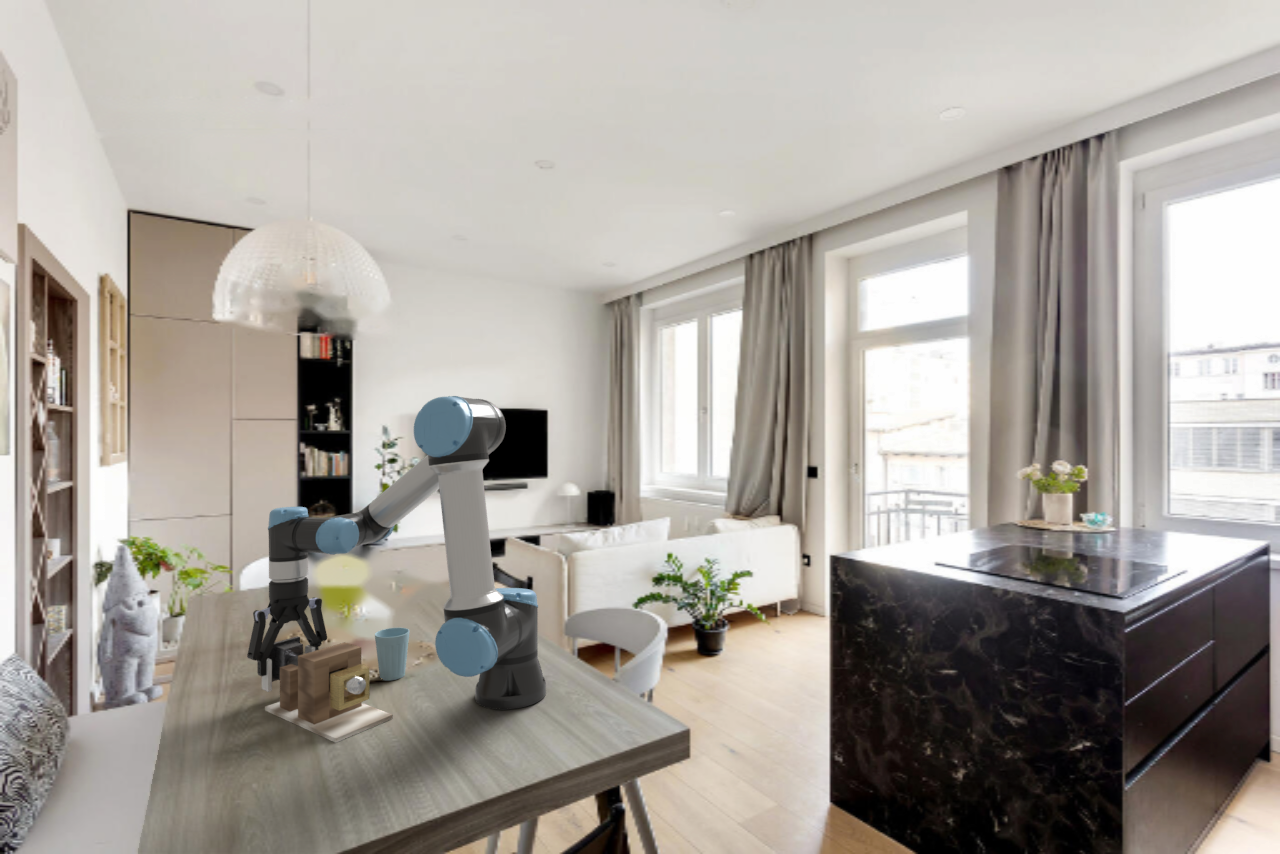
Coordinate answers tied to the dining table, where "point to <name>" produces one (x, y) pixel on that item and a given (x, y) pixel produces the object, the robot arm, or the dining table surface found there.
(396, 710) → the dining table surface
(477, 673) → the robot arm
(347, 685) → the shaft
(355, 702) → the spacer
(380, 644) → the cup
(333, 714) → the wooden assembly fixture
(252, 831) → the dining table surface
